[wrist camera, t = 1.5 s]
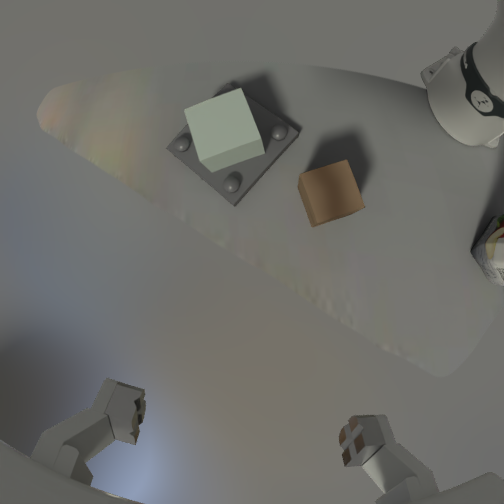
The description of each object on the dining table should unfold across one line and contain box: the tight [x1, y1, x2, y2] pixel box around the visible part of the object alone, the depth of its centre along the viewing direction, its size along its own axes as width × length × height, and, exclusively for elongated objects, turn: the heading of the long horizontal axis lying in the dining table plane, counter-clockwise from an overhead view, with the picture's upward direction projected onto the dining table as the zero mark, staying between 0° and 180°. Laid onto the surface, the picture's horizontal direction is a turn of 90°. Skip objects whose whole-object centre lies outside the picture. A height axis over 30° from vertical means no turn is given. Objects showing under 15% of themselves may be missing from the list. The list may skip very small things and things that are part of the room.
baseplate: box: [166, 83, 299, 206], centre depth 38 cm, size 14×14×8 cm
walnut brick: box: [298, 160, 365, 227], centre depth 37 cm, size 6×6×8 cm
